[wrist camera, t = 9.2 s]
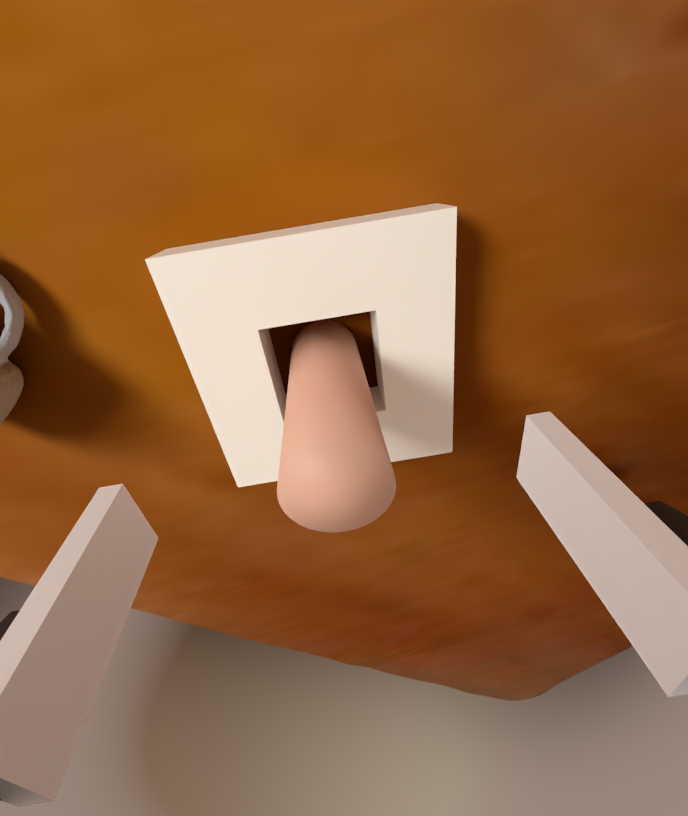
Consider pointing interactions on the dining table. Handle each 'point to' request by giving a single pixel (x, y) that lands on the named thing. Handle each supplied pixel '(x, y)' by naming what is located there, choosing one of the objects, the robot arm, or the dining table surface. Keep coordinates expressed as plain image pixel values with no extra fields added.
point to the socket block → (314, 300)
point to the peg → (331, 436)
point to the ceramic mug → (10, 348)
